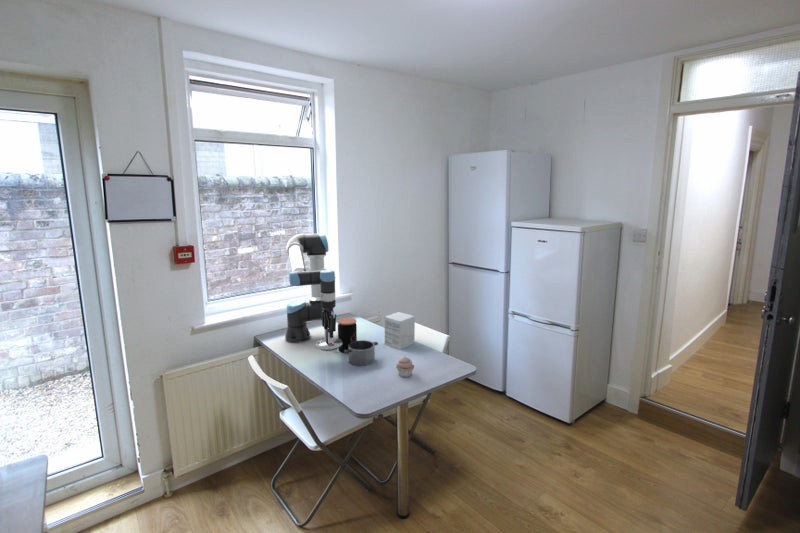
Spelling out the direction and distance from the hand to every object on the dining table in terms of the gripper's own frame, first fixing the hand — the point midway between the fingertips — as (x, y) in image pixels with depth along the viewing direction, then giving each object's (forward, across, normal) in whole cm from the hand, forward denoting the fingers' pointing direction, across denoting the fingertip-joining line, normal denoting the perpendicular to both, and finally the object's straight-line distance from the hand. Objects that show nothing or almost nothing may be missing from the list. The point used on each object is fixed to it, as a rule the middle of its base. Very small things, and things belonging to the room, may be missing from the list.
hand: (329, 341), depth 213 cm
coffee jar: (+12, -8, +16) cm, 22 cm away
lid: (+3, 0, 0) cm, 3 cm away
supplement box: (+12, +2, +46) cm, 47 cm away
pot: (+12, +9, +15) cm, 21 cm away
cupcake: (+11, +36, +24) cm, 44 cm away
